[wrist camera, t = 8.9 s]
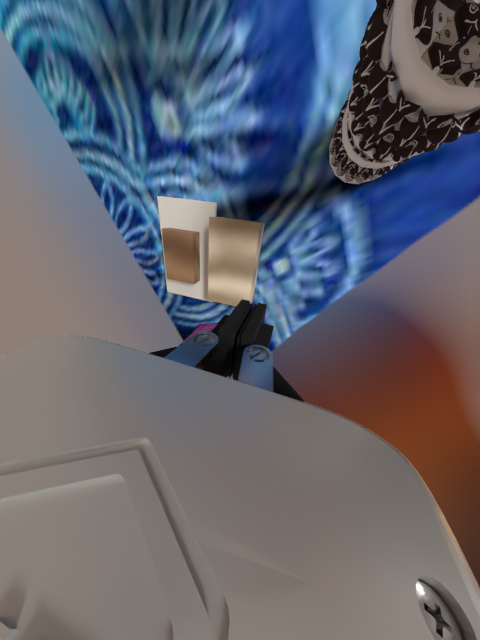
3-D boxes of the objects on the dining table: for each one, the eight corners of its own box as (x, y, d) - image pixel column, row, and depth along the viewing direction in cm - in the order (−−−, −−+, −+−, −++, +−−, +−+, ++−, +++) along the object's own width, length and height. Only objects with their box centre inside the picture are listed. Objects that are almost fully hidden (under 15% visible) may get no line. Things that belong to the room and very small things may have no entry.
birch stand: (219, 216, 31) (209, 216, 28) (264, 222, 30) (260, 223, 26) (216, 292, 38) (207, 300, 35) (253, 300, 37) (248, 309, 34)
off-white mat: (159, 196, 33) (157, 196, 32) (216, 202, 30) (215, 202, 30) (169, 290, 42) (167, 291, 41) (213, 301, 40) (212, 302, 39)
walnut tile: (192, 232, 31) (199, 232, 33) (161, 228, 32) (170, 227, 34) (194, 284, 35) (200, 280, 37) (166, 278, 37) (174, 275, 39)
